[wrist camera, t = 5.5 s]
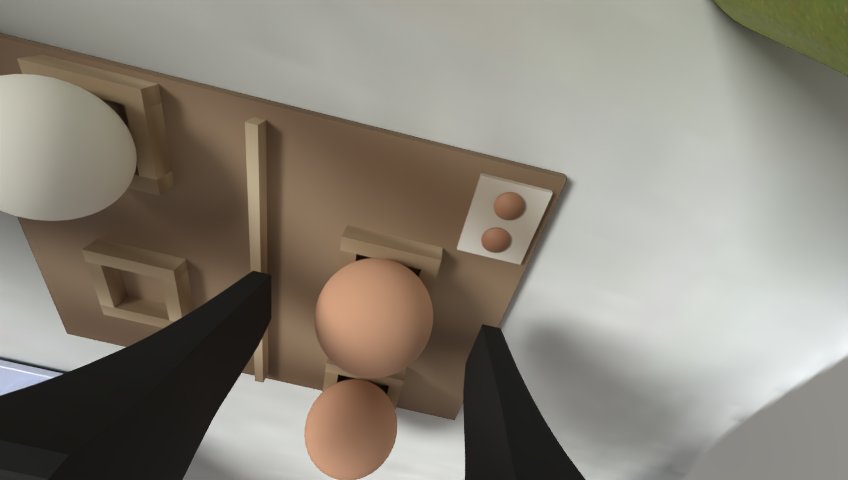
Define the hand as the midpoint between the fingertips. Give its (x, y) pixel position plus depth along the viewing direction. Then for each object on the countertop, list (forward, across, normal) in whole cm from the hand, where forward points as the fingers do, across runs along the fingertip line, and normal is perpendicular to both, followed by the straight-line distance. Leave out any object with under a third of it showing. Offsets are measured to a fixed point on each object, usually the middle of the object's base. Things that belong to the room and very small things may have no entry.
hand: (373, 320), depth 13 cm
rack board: (+3, +5, +2) cm, 6 cm away
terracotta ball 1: (0, 0, 0) cm, 0 cm away
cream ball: (0, +10, -4) cm, 11 cm away
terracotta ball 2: (0, 0, +7) cm, 7 cm away
